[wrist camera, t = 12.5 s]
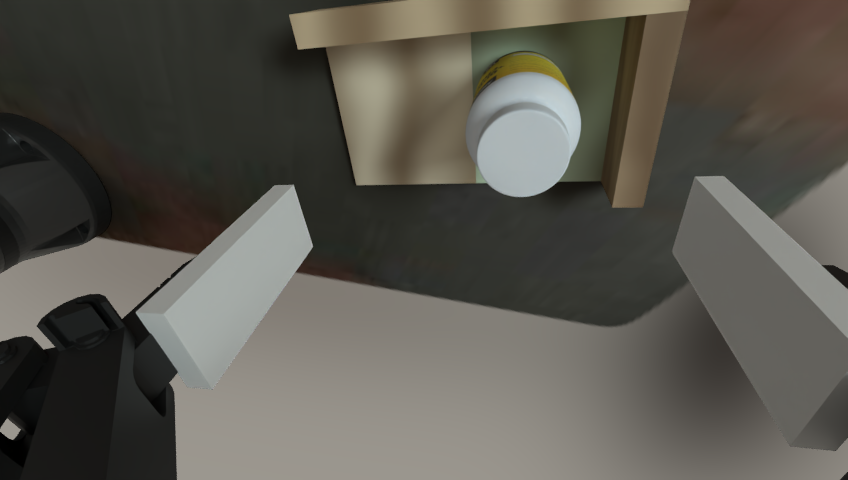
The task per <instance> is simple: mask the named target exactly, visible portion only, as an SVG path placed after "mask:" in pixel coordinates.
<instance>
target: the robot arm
mask: <svg viewBox="0 0 848 480" xmlns="http://www.w3.org/2000/svg"><path fill="white" fill-rule="evenodd" d="M110 220H111V207H110V202H109V199H108V196H107V193H106V191H105V189H104V187H103V185H102V183H101V181H100V180H99V178H98V177H97V175H96V174H95V172H94V171H93V170H92V168H91V167H90V166H89V164H88V163H87V162H86V161H85V160H84V159H83V158H82V157H81V155H80V154H79V153H78V152H77V151H76V150H74V149H73V148H72V147H71V146H70V145H69V144H68V143H67V142H65V141H64V140H63V139H62V138H60V137H59V136H58V135H56V134H55V133H53V132H52V131H50V130H49V129H47V128H45V127H44V126H42V125H40V124H38V123H36V122H34V121H32V120H30V119H27V118H25V117H22V116H19V115H15V114H10V113H0V273H2V272H4V271H5V270H7V269H9V268H10V267H12V266H14V265H16V264H18V263H19V262H22V261H24V260H28V259H31V258H35V257H39V256H42V255H46V254H50V253H54V252H57V251H61V250H65V249H69V248H72V247H76V246H79V245H82V244H84V243H86V242H88V241H90V240H91V239H93V238H95V237H96V236H98V235H100V234H101V233H103V232H104V231H105V230H106V229H107V227H108V226H109V224H110ZM312 248H313V245H312V242H311V239H310V235H309V232H308V229H307V226H306V223H305V220H304V216H303V213H302V210H301V207H300V204H299V201H298V197H297V194H296V191H295V188H294V185H274V186H273V187H272V188H271V189H270V190H269V191H268V192H267V193H266V194H265V195H264V196H262V197H261V198H260V199H259V200H258V201H257V202H256V203H255V204H254V205H253V206H251V207H250V208H249V209H248V210H247V211H246V212H245V213H244V214H243V215H242V216H240V217H239V218H238V219H237V220H236V221H235V222H234V223H233V224H232V225H231V226H230V227H228V228H227V229H226V230H225V231H224V232H223V233H222V234H221V235H220V236H219V237H217V238H216V239H215V240H214V241H213V242H212V243H211V244H210V245H209V246H208V247H206V248H205V249H204V250H203V251H202V252H201V253H200V254H199V255H198V256H196V257H195V258H193V259H192V260H190V261H188V262H186V263H185V264H183V265H182V266H181V267H180V268H178V270H176V271H175V272H174V273H173V274H172V275H171V278H167V279H166V280H165V281H164V282H163V283H162V284H161V286H160V287H157V288H156V289H155V290H154V291H153V292H152V293H151V294H150V295H148V296H147V297H146V298H145V299H144V300H143V301H142V302H141V303H140V304H138V305H137V306H136V307H135V308H134V309H133V310H132V311H131V312H130V313H129V314H127V315H126V316H125V317H124V318H123V319H121V317H120V316H119V315H118V313H117V312H116V310H115V309H114V308H113V307H112V305H111V304H110V302H109V301H108V300H107V298H106V297H105V296H103V295H100V294H89V295H86V296H81V297H78V298H75V299H73V300H70V301H68V302H66V303H63V304H62V305H60V306H58V307H57V308H55V309H53V310H52V311H50V312H49V313H48V314H47V315H46V316H45V317H43V318H42V319H41V320H40V322H39V323H38V325H37V327H38V328H39V329H40V330H41V331H42V333H43V334H44V335H45V336H46V337H47V338H48V339H49V340H50V341H51V342H52V344H53V345H54V346H55V347H54V348H50V349H45V350H43V349H42V348H41V346H40V345H39V344H38V343H37V342H36V341H35V340H34V339H33V338H32V337H27V336H22V337H15V338H12V339H9V340H6V341H1V342H0V428H1V426H2V425H3V423H4V422H5V420H6V419H7V418H8V419H9V420H10V421H11V422H12V423H14V424H15V425H16V426H17V427H18V428H20V429H21V430H20V432H19V434H18V435H17V437H16V438H15V439H14V440H11V439H8V438H7V437H6V436H5V435H3V434H2V433H1V432H0V480H177V472H176V436H175V402H174V391H173V388H172V387H171V385H170V384H169V382H170V381H171V380H172V379H173V378H174V376H175V375H176V374H177V373H178V374H179V376H180V377H181V379H182V380H183V381H184V383H185V384H186V386H187V387H192V388H202V389H211V390H212V389H213V388H214V387H215V385H216V384H217V382H218V381H219V379H220V378H221V376H222V375H223V374H224V372H225V371H226V370H227V368H228V367H229V365H230V364H231V362H232V361H233V360H234V358H235V357H236V355H237V354H238V352H239V351H240V350H241V348H242V347H243V345H244V344H245V343H246V341H247V340H248V338H249V337H250V336H251V334H252V332H253V331H254V330H255V328H256V327H257V326H258V324H259V322H260V321H261V320H262V318H263V317H264V316H265V314H266V313H267V311H268V310H269V309H270V307H271V306H272V304H273V303H274V302H275V300H276V299H277V297H278V296H279V294H280V293H281V292H282V290H283V289H284V287H285V286H286V285H287V283H288V282H289V280H290V279H291V277H292V276H293V274H294V273H295V272H296V270H297V269H298V268H299V266H300V265H301V263H302V262H303V260H304V259H305V258H306V256H307V255H308V253H309V252H310V251H311V249H312ZM672 253H673V255H674V256H675V258H676V259H677V261H678V263H679V264H680V266H681V268H682V269H683V271H684V273H685V274H686V276H687V278H688V279H689V281H690V283H691V284H692V286H693V287H694V289H695V291H696V292H697V294H698V296H699V297H700V299H701V301H702V302H703V304H704V306H705V307H706V309H707V311H708V312H709V314H710V316H711V317H712V319H713V320H714V322H715V324H716V325H717V327H718V329H719V330H720V332H721V334H722V335H723V337H724V339H725V340H726V342H727V344H728V345H729V347H730V349H731V350H732V352H733V353H734V355H735V356H736V358H737V360H738V361H739V363H740V365H741V367H742V368H743V370H744V371H745V373H746V375H747V377H748V378H749V380H750V382H751V383H752V385H753V387H754V388H755V390H756V391H757V393H758V395H759V396H760V398H761V400H762V401H763V403H764V405H765V406H766V408H767V410H768V411H769V413H770V414H771V416H772V418H773V420H774V421H775V423H776V424H777V426H778V428H779V429H780V431H781V433H782V434H783V436H784V438H785V439H786V441H787V443H788V444H789V446H791V447H801V448H811V449H821V450H822V449H823V450H832V451H836V450H837V449H838V448H839V447H840V446H841V444H842V443H843V442H844V441H845V440H846V439H847V438H848V273H847V272H845V271H843V270H841V269H839V268H838V267H836V266H833V265H820V264H819V263H818V262H817V261H816V260H815V259H814V258H812V256H811V255H809V254H808V253H807V252H806V251H805V250H804V249H803V248H802V247H801V246H800V245H798V244H797V243H796V242H795V241H794V240H793V239H792V238H791V237H790V236H789V235H788V234H787V233H785V232H784V231H783V230H782V229H781V228H780V227H779V226H778V225H777V224H776V223H774V222H773V221H772V220H771V219H770V218H769V217H768V216H767V215H766V214H765V213H764V212H762V211H761V210H760V209H759V208H758V207H757V206H756V205H755V204H754V203H753V202H752V201H750V200H749V199H748V198H747V197H746V196H745V195H744V194H743V193H742V192H741V191H739V190H738V189H737V188H736V187H735V186H734V185H733V184H732V183H731V182H730V181H729V180H727V179H726V178H725V177H724V176H708V177H695V178H694V181H693V184H692V188H691V191H690V194H689V197H688V201H687V204H686V207H685V211H684V214H683V217H682V220H681V224H680V227H679V230H678V233H677V237H676V240H675V243H674V247H673V250H672ZM841 480H848V472H847V473H846V474H845V475H844V476H843V477H842V478H841Z"/></svg>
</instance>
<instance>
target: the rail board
mask: <svg viewBox="0 0 848 480" xmlns="http://www.w3.org/2000/svg"><path fill="white" fill-rule="evenodd" d="M689 4H690V0H393V1H384V2H376V3H368V4H360V5H352V6H344V7H336V8H328V9H320V10H314V11H308V12H303V13H297V14H291V15H289V17H290V20H291V24H292V28H293V32H294V36H295V40H296V44H297V48H298V50H299V49H309V48H319V47H326V51H327V55H328V60H329V64H330V69H331V73H332V78H333V82H334V87H335V91H336V96H337V100H338V105H339V109H340V114H341V118H342V123H343V127H344V132H345V136H346V141H347V145H348V150H349V154H350V159H351V163H352V168H353V172H354V177H355V181H356V185H398V184H456V183H487V182H486V181H485V180H484V179H483V177H482V176H481V174H480V172H479V169H478V167H477V165H476V164H475V163H474V161H473V160H472V158H471V156H470V154H469V151H468V148H467V144H466V135H465V132H466V123H467V118H468V115H469V111H470V108H471V105H472V102H473V99H474V95H475V92H476V89H477V86H478V83H479V81H480V79H481V77H482V75H483V73H484V72H485V71H486V69H487V68H488V67H489V66H490V65H491V64H492V63H493V62H495V61H496V60H497V59H499V58H500V57H502V56H504V55H506V54H509V53H512V52H515V51H534V52H538V53H540V54H543V55H545V56H546V57H548V58H549V59H551V60H552V61H553V62H554V63H555V64H556V65H557V66H558V67H559V69H560V70H561V72H562V74H563V76H564V78H565V80H566V82H567V84H568V86H569V88H570V90H571V92H572V94H573V96H574V98H575V100H576V103H577V105H578V108H579V112H580V117H581V131H580V137H579V141H578V144H577V146H576V149H575V151H574V152H573V154H572V156H571V157H570V161H569V164H568V167H567V169H566V171H565V173H564V174H563V176H562V177H561V178H560V180H559V181H558V182H570V181H601V183H602V185H603V187H604V190H605V192H606V194H607V196H608V199H609V201H610V203H611V206H612V207H643V205H644V201H645V196H646V192H647V187H648V183H649V179H650V174H651V170H652V166H653V161H654V157H655V152H656V148H657V144H658V139H659V135H660V131H661V126H662V122H663V117H664V113H665V109H666V104H667V100H668V96H669V91H670V87H671V82H672V78H673V74H674V69H675V65H676V61H677V56H678V52H679V47H680V43H681V39H682V34H683V30H684V26H685V21H686V17H687V12H688V8H689Z"/></svg>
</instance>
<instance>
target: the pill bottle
mask: <svg viewBox="0 0 848 480" xmlns="http://www.w3.org/2000/svg"><path fill="white" fill-rule="evenodd" d="M580 131H581V117H580V112H579V108H578V105H577V103H576V100H575V98H574V96H573V94H572V92H571V90H570V88H569V86H568V84H567V82H566V80H565V78H564V76H563V74H562V72H561V70H560V69H559V67H558V66H557V65H556V64H555V63H554V62H553V61H552V60H551V59H549V58H548V57H546V56H545V55H543V54H540V53H538V52H534V51H515V52H512V53H509V54H506V55H504V56H502V57H500V58H499V59H497V60H496V61H495V62H493V63H492V64H491V65H490V66H489V67H488V68H487V69H486V71H485V72H484V73H483V75H482V77H481V79H480V81H479V83H478V86H477V89H476V92H475V95H474V99H473V102H472V105H471V108H470V111H469V115H468V118H467V123H466V132H465V135H466V144H467V148H468V151H469V154H470V156H471V158H472V160H473V161H474V163H475V164H476V165H477V167H478V169H479V172H480V174H481V176H482V177H483V179H484V180H485V181H486V182H487V183H488V184H489V185H490V186H491V187H492V188H493V189H495V190H496V191H498V192H500V193H502V194H505V195H508V196H514V197H528V196H533V195H536V194H539V193H542V192H544V191H546V190H548V189H549V188H551V187H552V186H553V185H554V184H556V183H557V182H558V181H559V180H560V178H561V177H562V176H563V174H564V173H565V171H566V169H567V167H568V164H569V161H570V157H571V156H572V154H573V152H574V151H575V149H576V146H577V144H578V141H579V137H580Z"/></svg>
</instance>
